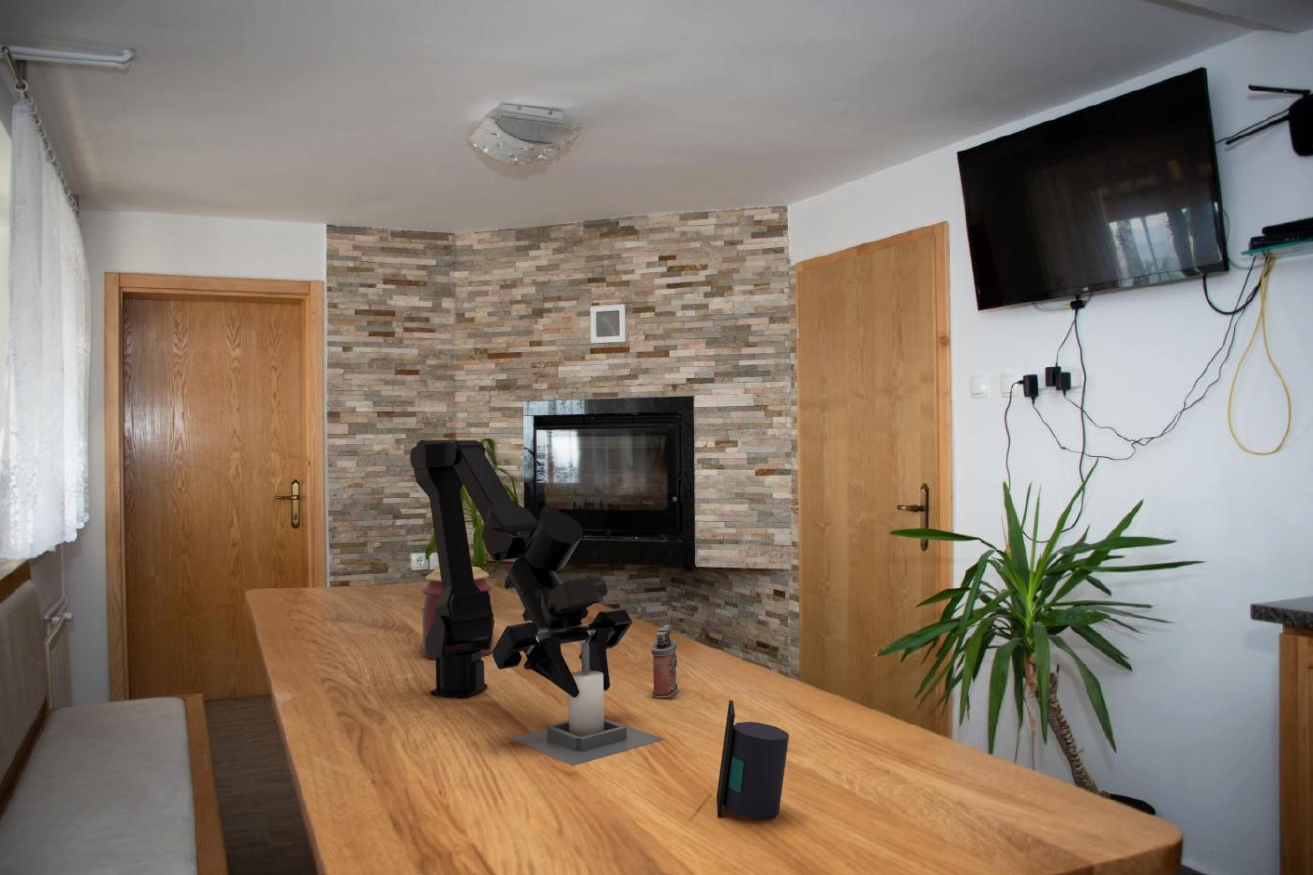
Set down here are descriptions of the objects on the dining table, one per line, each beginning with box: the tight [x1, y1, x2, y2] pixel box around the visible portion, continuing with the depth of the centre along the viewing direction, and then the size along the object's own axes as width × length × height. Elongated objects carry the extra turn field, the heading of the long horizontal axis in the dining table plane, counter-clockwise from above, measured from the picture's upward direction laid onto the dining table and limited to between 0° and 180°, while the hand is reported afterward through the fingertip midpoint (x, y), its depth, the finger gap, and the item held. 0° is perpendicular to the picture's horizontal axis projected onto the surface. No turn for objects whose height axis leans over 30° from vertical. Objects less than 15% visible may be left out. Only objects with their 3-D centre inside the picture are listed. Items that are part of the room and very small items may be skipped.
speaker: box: [716, 699, 790, 821], centre depth 94 cm, size 8×6×10 cm
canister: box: [420, 566, 495, 660], centre depth 171 cm, size 13×13×18 cm
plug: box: [567, 643, 605, 737], centre depth 118 cm, size 4×4×12 cm
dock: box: [509, 717, 666, 767], centre depth 117 cm, size 14×14×2 cm
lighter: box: [651, 624, 678, 701], centre depth 139 cm, size 8×3×10 cm, turn 168°
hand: (592, 692), depth 116 cm, fingers closed on plug, 4 cm apart
